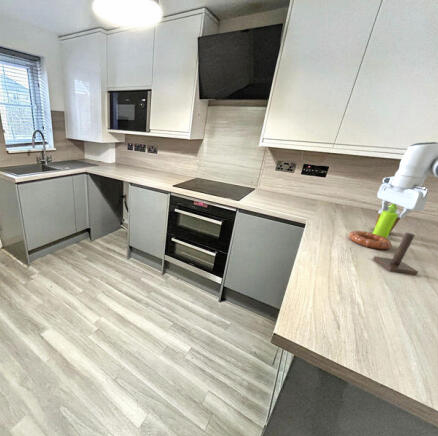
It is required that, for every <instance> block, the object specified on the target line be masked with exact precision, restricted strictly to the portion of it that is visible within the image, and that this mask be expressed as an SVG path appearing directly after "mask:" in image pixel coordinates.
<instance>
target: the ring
mask: <svg viewBox="0 0 438 436" xmlns="http://www.w3.org/2000/svg"><path fill="white" fill-rule="evenodd" d="M348 238H349V239H350V240H351V241H352V242H354V243H356V244H358V245H360V246H363V247H366V248H370V249H373V250H375V249H376V250H389V249H391V248H392V246H393V244H392V241H391V240H390V239H388V238H387V239H386V238H384V237H382V236H379V235H377V234H373V232H368V231H363V230H354V231H351V232H349V236H348Z"/></svg>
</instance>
